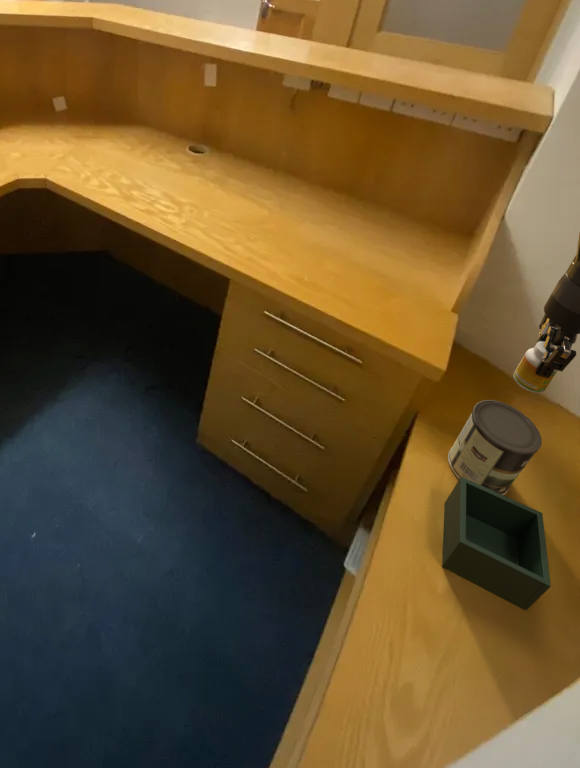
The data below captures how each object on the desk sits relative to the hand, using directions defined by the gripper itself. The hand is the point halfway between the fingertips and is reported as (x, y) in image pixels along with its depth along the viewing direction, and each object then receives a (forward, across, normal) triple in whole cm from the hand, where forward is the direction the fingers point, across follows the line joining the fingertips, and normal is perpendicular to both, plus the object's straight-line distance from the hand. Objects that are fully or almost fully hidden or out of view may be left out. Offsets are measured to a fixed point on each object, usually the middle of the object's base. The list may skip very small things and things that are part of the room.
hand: (539, 363), depth 99 cm
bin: (+16, -33, +5) cm, 37 cm away
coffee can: (+16, -17, +6) cm, 24 cm away
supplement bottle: (+6, 0, 0) cm, 6 cm away
